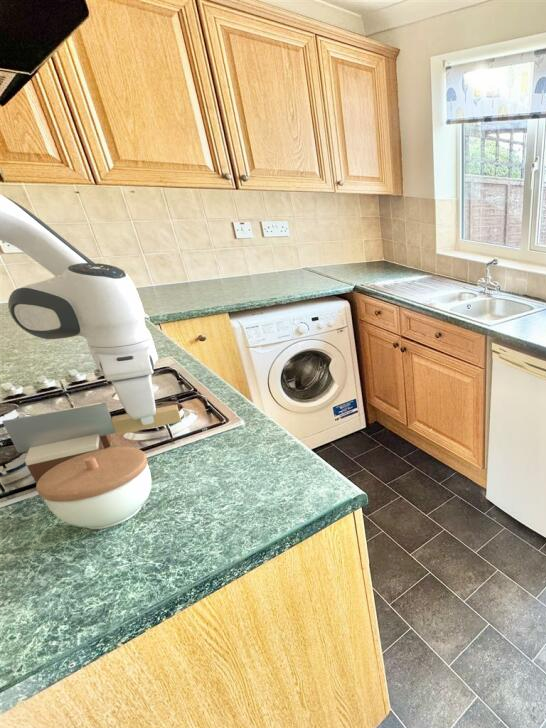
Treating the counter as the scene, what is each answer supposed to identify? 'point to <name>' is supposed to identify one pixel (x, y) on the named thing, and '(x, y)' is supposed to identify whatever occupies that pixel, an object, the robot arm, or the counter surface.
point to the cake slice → (59, 453)
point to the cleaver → (79, 425)
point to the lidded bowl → (97, 487)
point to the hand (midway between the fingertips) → (147, 418)
